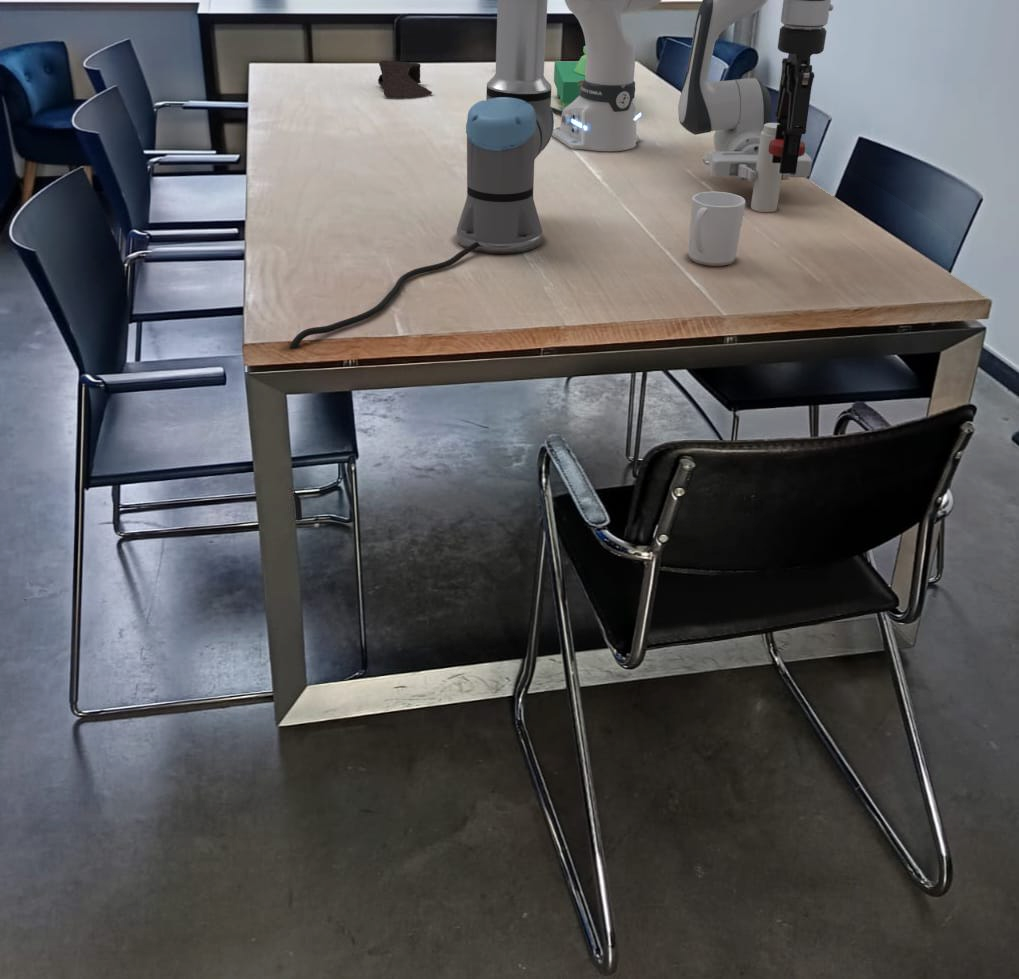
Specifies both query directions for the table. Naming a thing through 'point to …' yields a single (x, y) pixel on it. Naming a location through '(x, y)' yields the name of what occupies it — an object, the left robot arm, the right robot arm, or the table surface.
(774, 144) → the lid
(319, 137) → the table surface
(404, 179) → the table surface
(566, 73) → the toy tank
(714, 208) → the mug
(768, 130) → the jar
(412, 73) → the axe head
